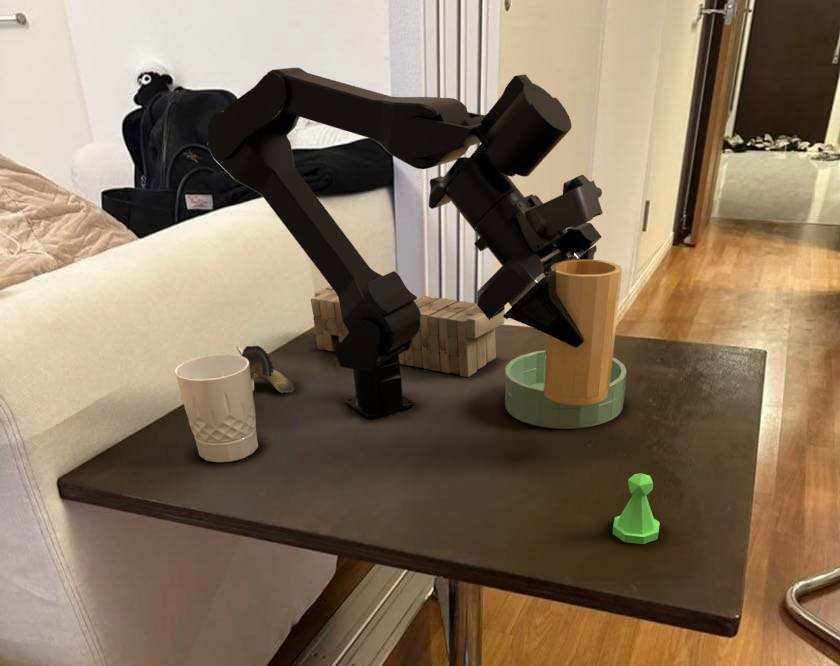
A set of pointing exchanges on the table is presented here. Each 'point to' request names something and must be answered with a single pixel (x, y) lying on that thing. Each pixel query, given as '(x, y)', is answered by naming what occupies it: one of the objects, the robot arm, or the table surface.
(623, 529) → the game piece
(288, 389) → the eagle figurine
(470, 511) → the table surface
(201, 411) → the white cup
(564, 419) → the pan
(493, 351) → the block tower
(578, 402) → the tumbler
